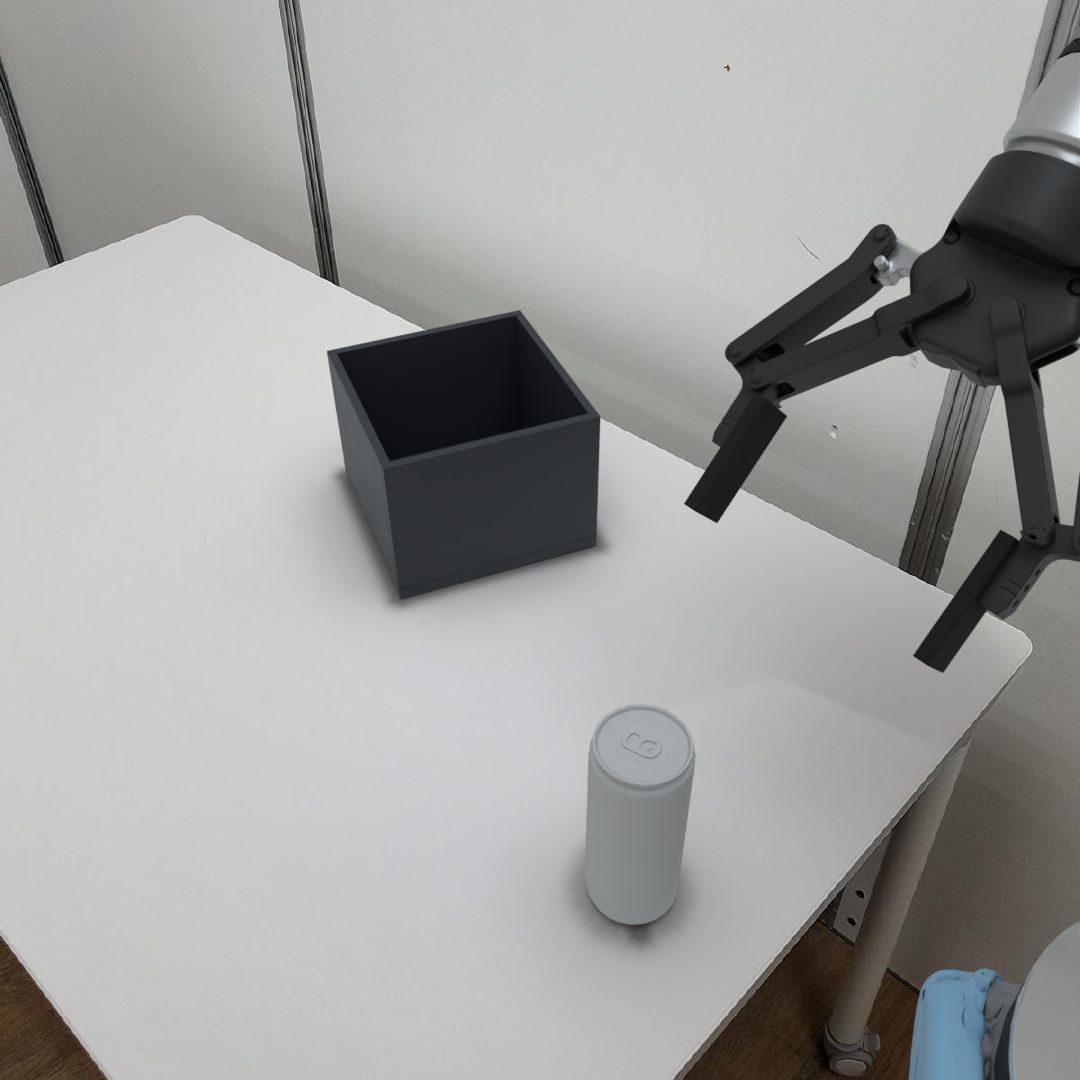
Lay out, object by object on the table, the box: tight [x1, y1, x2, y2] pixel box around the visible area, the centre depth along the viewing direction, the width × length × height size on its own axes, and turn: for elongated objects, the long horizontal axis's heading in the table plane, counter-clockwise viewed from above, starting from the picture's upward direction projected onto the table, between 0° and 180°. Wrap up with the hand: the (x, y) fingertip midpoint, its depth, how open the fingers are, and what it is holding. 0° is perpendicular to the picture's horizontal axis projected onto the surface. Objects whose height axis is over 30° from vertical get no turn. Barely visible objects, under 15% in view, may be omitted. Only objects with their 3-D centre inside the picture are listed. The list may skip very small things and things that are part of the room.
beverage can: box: [584, 703, 696, 926], centre depth 54 cm, size 5×5×12 cm
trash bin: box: [326, 309, 601, 600], centre depth 77 cm, size 14×14×11 cm
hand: (805, 584), depth 53 cm, fingers open, 13 cm apart
